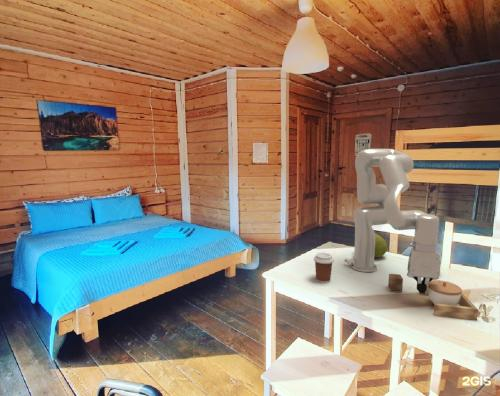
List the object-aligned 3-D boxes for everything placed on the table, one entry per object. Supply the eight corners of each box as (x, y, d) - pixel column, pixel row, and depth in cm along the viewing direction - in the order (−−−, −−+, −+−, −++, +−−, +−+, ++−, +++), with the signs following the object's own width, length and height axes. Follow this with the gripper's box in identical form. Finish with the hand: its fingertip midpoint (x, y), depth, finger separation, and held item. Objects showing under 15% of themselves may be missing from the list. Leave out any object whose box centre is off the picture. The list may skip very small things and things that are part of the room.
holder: (434, 315, 105) (435, 305, 104) (413, 284, 129) (414, 275, 128) (476, 320, 101) (478, 309, 101) (446, 287, 126) (447, 278, 125)
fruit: (381, 251, 171) (392, 233, 162) (379, 268, 160) (391, 249, 151) (354, 241, 175) (363, 222, 166) (350, 256, 164) (360, 237, 155)
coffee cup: (309, 278, 137) (309, 253, 135) (323, 274, 141) (324, 250, 139) (322, 285, 129) (323, 260, 127) (337, 281, 133) (338, 256, 131)
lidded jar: (420, 299, 116) (422, 276, 115) (444, 297, 117) (447, 275, 116) (440, 313, 106) (442, 289, 104) (467, 311, 107) (469, 287, 105)
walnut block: (390, 291, 123) (391, 277, 122) (388, 286, 127) (389, 273, 126) (402, 292, 122) (403, 278, 121) (399, 287, 126) (400, 274, 125)
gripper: (406, 248, 108) (402, 294, 111) (451, 251, 104) (446, 299, 107) (400, 242, 115) (397, 286, 118) (443, 245, 112) (439, 289, 114)
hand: (421, 292), depth 113 cm, fingers closed
